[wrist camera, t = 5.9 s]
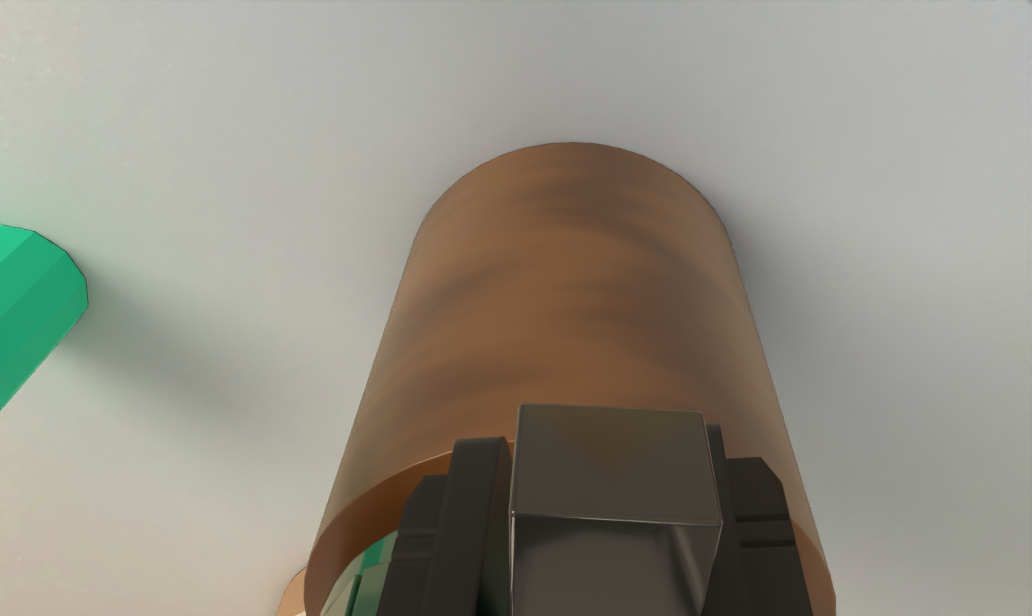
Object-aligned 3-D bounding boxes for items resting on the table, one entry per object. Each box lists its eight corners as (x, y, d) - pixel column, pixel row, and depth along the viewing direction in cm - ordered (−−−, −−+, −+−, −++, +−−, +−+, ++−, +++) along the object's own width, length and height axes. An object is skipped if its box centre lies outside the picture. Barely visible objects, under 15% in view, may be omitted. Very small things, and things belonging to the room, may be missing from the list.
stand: (369, 361, 41) (256, 697, 27) (469, 86, 33) (385, 356, 19) (645, 454, 44) (678, 809, 29) (803, 218, 35) (956, 549, 21)
